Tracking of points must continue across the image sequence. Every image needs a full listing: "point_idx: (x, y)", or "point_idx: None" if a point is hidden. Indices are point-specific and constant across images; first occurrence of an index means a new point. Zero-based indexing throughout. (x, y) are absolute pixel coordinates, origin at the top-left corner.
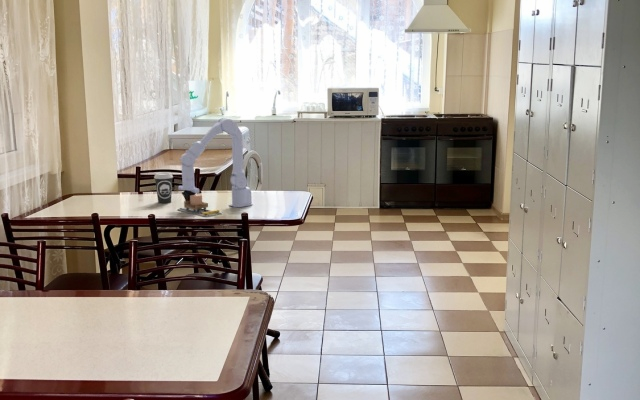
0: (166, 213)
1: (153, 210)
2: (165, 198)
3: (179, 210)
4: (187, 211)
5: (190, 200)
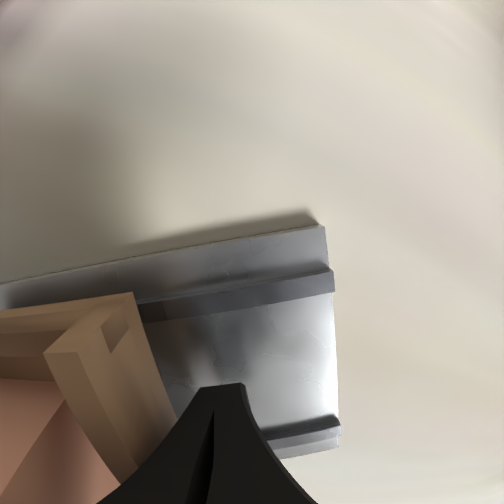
0: (204, 4)
1: (465, 16)
2: None
3: (267, 234)
4: (66, 277)
5: (29, 443)
